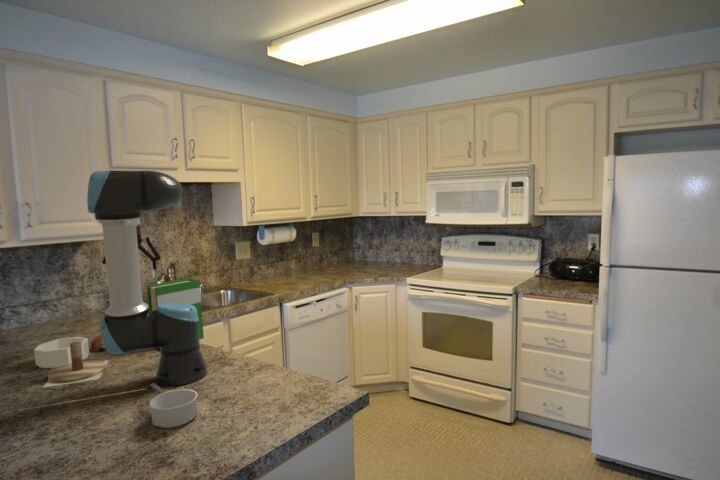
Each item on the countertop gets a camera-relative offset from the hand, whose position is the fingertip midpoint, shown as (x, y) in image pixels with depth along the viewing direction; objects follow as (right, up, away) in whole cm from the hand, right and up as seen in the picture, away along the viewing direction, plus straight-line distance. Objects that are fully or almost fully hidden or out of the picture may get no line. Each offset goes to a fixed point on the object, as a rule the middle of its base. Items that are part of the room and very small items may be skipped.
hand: (133, 279), depth 173 cm
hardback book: (+16, -25, +3) cm, 30 cm away
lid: (-4, -28, -28) cm, 40 cm away
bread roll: (-10, -27, -2) cm, 29 cm away
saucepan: (+38, -30, -57) cm, 75 cm away
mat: (-4, -29, -28) cm, 40 cm away
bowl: (-18, -28, -15) cm, 36 cm away
